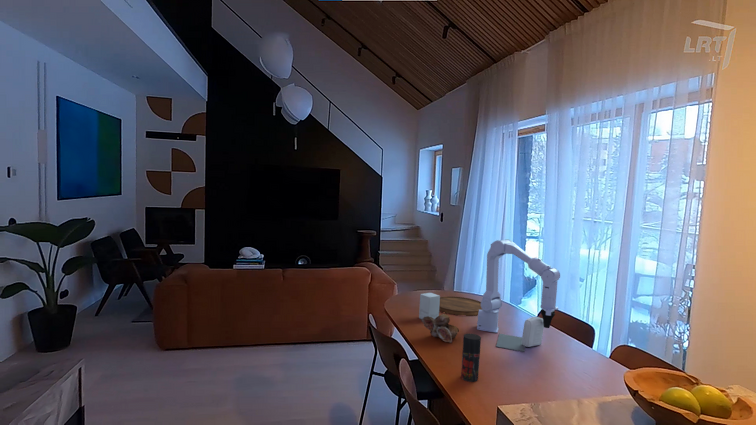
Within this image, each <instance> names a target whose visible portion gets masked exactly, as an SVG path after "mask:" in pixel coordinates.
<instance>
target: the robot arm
mask: <svg viewBox="0 0 756 425" xmlns="http://www.w3.org/2000/svg"><path fill="white" fill-rule="evenodd" d="M506 254H507V255H514V256H515V257H516V258H519V259H520V260H521V261H523V262H524V263H526V264H527V266H528V269H530V270H531V271H532V272H534V273H535V274H536V275H538V276H539V277H540V278H541V281H542V291H541V292H542V293H541V302H540V303H541V304H540V308H541V309H540V314H541V318H542V319H543V325H544V328H545V329H550V327H551V324H552V321H553V318H554V316H555V315H556V313H555V310H556V311H558V310H559V306H556V303H557V292H558V281H559V280H560V278H561V273H560V271H559V270H558V269H557V268H555V267H551V265H549V264H547V263H545V262H544V261H542V260H543V259H542V258H540V257H532V256H531V255H529V253H527V252H526V251H525V250H524V249H523V248H521V247H519V246H518V244H517V243H515V242H513V241H512V240H511V239H503V240H502V239H501V240H499V239H498V240H497V239H496V240H495V241H493V242H492V243H490V247H489V249H488V251H487V253H486V276H485V278H486V280H485V282H486V284H485V287H486V288H485V292H484V293H483V295H482V298H481V300H480V302H481V308H482V309H483V310H479V312H478V316H477V323H476V324H477V326H476V330H478V331H484V332H490V333H496V334H498V332H499V329H500V327H499V326H498V324H499V312H500V309H501V307H502V306H503V302H502V298H501V293H500V292H499V263H500V262H499V260H500V258H502V257H503V256H504V255H506Z"/></svg>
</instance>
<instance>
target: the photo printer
mask: <svg viewBox="0 0 756 425" xmlns="http://www.w3.org/2000/svg"><path fill="white" fill-rule="evenodd" d="M522 329H523V330H522V336H521V337H522V345H524V346H525V348H526V347H527V348H528V347H529V348H530V347H535V346H536V347H537V346H539V345H542V341H543V334H544V325H543V317H540V316H532V317H529V318H527V319H525V320H524V323H523V328H522Z"/></svg>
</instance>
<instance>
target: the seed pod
mask: <svg viewBox="0 0 756 425" xmlns="http://www.w3.org/2000/svg"><path fill="white" fill-rule="evenodd" d="M420 320H421V323H422V324H423V326H424V327H425V328H426V329H428V330H429V333H430V335H431V336H432V337H434V338H439V339H441V340H442V341H444V343H451V344H452V343H453V339H455V338H456V337H457V335H458V333H459V331H460V330H459V328H458V326H455V325H453V324H450V322H451V319H450V316H449V315H448V314H446V313H443V314H439V316H438V317H437V318H435V319H434V318H432V317H429V316H428V317H427V316H426V317H424V318H423V319H420Z"/></svg>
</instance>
